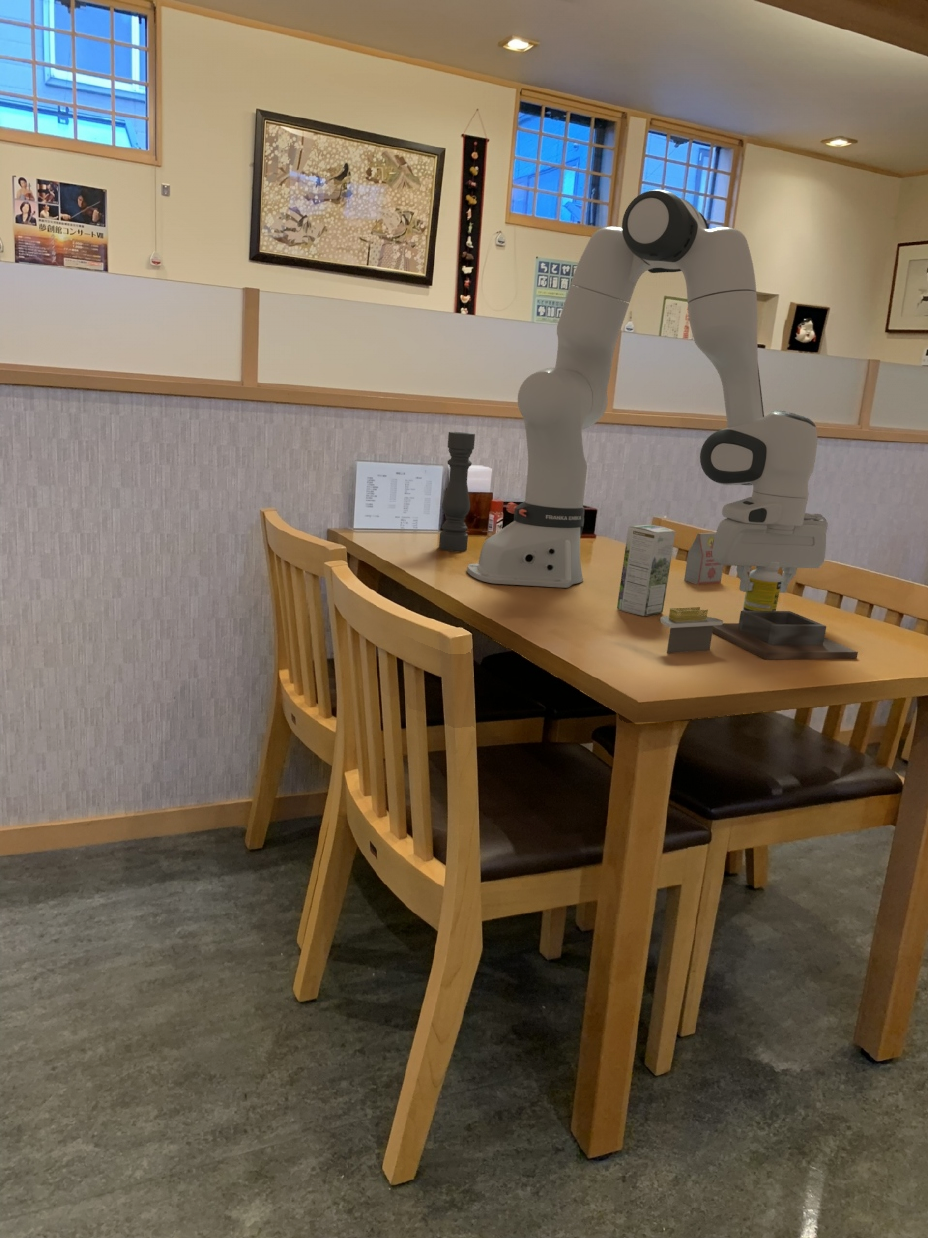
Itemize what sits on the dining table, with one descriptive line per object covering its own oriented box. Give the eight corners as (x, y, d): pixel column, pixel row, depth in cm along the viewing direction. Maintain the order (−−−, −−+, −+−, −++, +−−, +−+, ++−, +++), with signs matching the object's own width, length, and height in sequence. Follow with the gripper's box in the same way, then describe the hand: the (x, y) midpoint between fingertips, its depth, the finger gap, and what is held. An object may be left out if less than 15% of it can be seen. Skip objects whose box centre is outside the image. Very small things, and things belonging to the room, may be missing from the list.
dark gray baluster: (437, 545, 199) (446, 431, 193) (465, 547, 200) (474, 433, 194) (440, 550, 193) (448, 432, 187) (468, 552, 194) (478, 434, 188)
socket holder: (764, 659, 129) (769, 632, 128) (705, 629, 144) (709, 604, 142) (856, 658, 133) (861, 632, 132) (790, 629, 148) (794, 605, 147)
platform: (609, 644, 132) (615, 601, 130) (703, 638, 140) (709, 597, 138) (661, 669, 121) (668, 622, 120) (759, 660, 130) (767, 617, 128)
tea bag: (684, 580, 183) (691, 531, 180) (707, 578, 186) (714, 531, 184) (697, 584, 180) (704, 535, 177) (720, 582, 183) (728, 534, 181)
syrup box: (635, 606, 156) (646, 523, 152) (664, 613, 152) (676, 529, 148) (616, 609, 152) (626, 524, 148) (645, 617, 148) (656, 530, 144)
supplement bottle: (776, 621, 151) (787, 564, 149) (743, 616, 152) (753, 560, 150) (772, 613, 156) (782, 558, 154) (740, 609, 157) (750, 554, 155)
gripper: (817, 511, 156) (802, 588, 159) (714, 505, 150) (701, 586, 153) (841, 517, 150) (825, 597, 153) (735, 511, 144) (721, 595, 147)
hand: (762, 591), depth 153 cm, fingers closed on supplement bottle, 5 cm apart
